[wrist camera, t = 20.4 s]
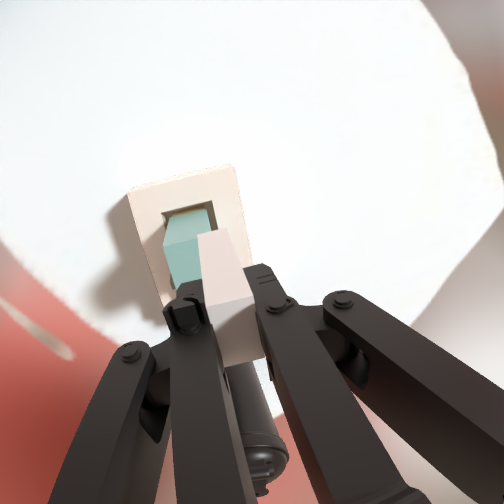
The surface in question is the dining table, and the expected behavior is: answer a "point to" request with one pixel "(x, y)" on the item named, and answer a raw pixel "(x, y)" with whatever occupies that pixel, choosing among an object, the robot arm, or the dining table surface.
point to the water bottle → (256, 427)
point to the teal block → (185, 243)
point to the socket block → (183, 197)
